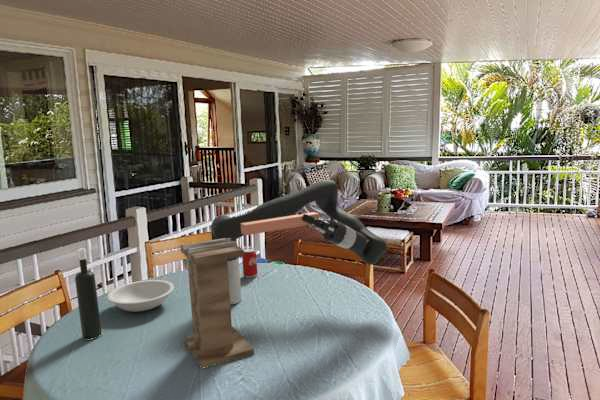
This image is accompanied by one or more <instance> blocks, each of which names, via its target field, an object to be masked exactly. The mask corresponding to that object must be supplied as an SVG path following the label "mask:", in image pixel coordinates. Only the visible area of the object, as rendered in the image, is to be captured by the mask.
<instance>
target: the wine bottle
mask: <svg viewBox="0 0 600 400" xmlns="http://www.w3.org/2000/svg"><path fill="white" fill-rule="evenodd" d="M77 254H78V260H79V269H80V272H78V273H76V275H75V278H74V282H75V289H76V296H77V304H78V313H79V320H80V321H79V322H80V329H81V336H82V339H83V338H84V339H91V338H95V337H98V336H99V335H101V333H102V326H101V325H102V324H101V320H100V319H101V316H100V310H99V309H100V308H99V300H98V293H97V292H98V291H97V285H96V284H97V283H96V278H95V277H96V276H95V274H94V272H92V271H90V270H88V264H87V254H86V249H85V247H81V248H78V250H77ZM101 336H102V335H101ZM84 339H83V340H84Z"/></svg>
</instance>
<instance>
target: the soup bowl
mask: <svg viewBox="0 0 600 400" xmlns="http://www.w3.org/2000/svg"><path fill="white" fill-rule="evenodd" d="M174 290H175V286H174V284H173V283H172V282H170V281H168V280H161V279H147V280H139V281H133V282H129V283H125V284H122V285H120V286H118V287H115V288H113V289H112V290H110V291H109V292H108V293H107V296H106V299H107V300H108V302H110V303H113V304H114V305H115V306H116V307H118V308H119V309H120V310H123V311H126V312H144V311H148V310H152V309H154V308H157V307H159V306H160V305H162V304H163V303H164V302H165V301H166V300H167V299H168V297H169V295H170V294H171V293H172V292H173V291H174Z"/></svg>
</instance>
